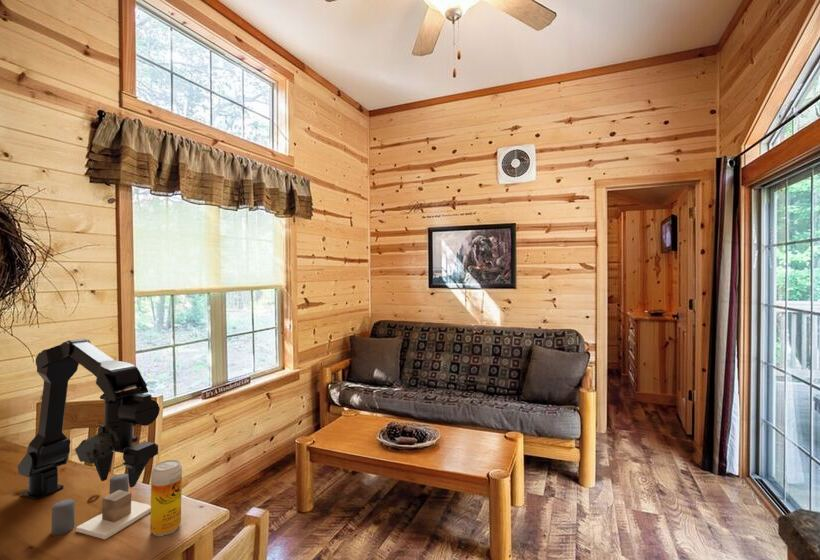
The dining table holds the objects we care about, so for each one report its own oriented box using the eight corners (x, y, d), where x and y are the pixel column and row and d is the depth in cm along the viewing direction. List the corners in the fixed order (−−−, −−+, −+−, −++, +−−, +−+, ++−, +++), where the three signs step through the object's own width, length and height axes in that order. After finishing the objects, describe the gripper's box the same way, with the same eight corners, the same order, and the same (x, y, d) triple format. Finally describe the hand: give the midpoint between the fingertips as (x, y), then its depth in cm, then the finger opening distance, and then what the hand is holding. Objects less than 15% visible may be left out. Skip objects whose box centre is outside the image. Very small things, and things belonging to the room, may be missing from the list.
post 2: (105, 502, 102) (105, 479, 102) (120, 495, 106) (121, 472, 106) (116, 505, 101) (117, 482, 101) (131, 497, 105) (132, 475, 105)
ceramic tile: (76, 531, 91) (76, 527, 91) (127, 503, 102) (127, 499, 102) (105, 539, 88) (105, 535, 88) (153, 509, 100) (153, 505, 100)
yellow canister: (166, 539, 89) (167, 472, 89) (143, 535, 90) (144, 469, 90) (186, 523, 95) (188, 460, 95) (165, 519, 96) (166, 457, 96)
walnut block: (102, 519, 94) (102, 498, 94) (118, 509, 98) (119, 489, 98) (114, 522, 93) (114, 501, 93) (130, 513, 97) (131, 492, 97)
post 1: (46, 533, 90) (47, 507, 90) (66, 523, 94) (67, 497, 94) (59, 536, 89) (59, 510, 89) (78, 526, 93) (79, 500, 93)
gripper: (53, 425, 90) (52, 494, 90) (114, 436, 85) (113, 508, 85) (103, 410, 101) (102, 471, 101) (160, 419, 96) (159, 483, 95)
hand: (118, 483), depth 95 cm, fingers open, 9 cm apart
